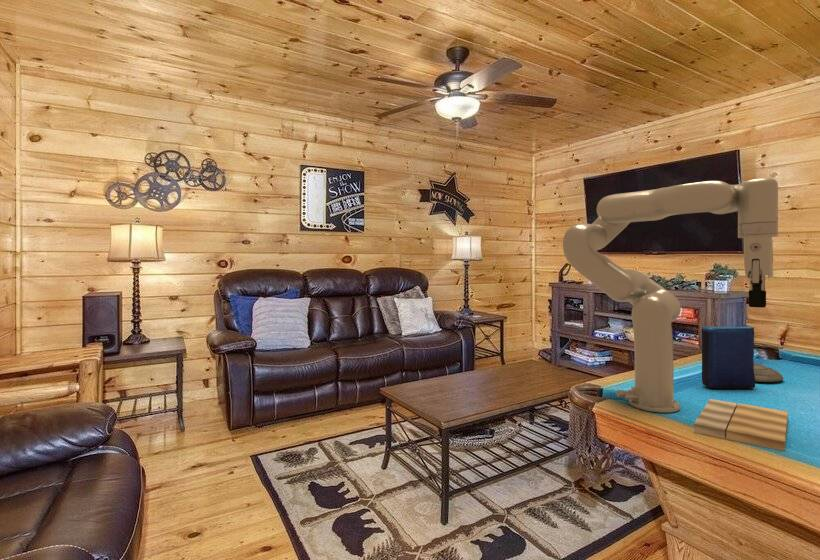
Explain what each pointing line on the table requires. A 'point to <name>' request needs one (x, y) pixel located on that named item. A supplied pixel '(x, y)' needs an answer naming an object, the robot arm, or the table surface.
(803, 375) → the table surface
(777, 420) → the oak plank
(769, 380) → the flying saucer
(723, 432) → the ash board
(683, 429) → the table surface
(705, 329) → the book
